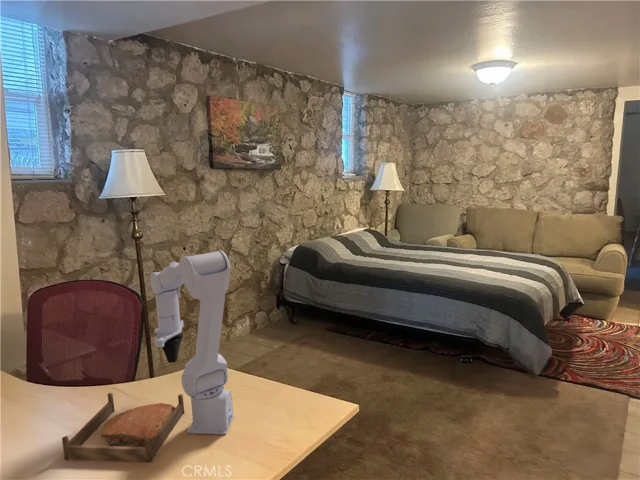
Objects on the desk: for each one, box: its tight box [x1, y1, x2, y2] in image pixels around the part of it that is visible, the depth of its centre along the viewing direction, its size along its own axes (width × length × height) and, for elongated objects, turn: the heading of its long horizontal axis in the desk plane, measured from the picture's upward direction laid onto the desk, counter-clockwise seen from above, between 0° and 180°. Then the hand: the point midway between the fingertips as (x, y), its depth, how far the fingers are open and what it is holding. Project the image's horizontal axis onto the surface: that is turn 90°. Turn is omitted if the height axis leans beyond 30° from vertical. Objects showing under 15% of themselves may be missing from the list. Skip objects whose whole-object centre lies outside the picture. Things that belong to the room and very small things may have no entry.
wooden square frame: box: [61, 392, 185, 464], centre depth 110 cm, size 20×20×5 cm
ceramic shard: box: [99, 402, 176, 447], centre depth 111 cm, size 15×6×15 cm
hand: (172, 361), depth 126 cm, fingers closed
